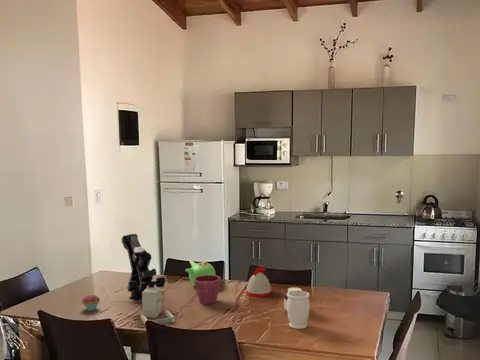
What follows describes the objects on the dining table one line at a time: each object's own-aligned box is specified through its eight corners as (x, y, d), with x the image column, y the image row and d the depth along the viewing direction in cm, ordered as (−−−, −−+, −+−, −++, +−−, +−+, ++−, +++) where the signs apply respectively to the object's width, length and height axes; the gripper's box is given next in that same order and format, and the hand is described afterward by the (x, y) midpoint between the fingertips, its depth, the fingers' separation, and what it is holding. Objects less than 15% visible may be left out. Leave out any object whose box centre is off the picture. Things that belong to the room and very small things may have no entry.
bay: (140, 319, 224) (140, 314, 224) (167, 314, 230) (167, 310, 230) (146, 326, 214) (146, 322, 214) (174, 321, 220) (174, 317, 220)
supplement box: (157, 317, 225) (156, 292, 224) (142, 317, 226) (141, 292, 225) (161, 312, 233) (160, 287, 231) (147, 311, 234) (146, 287, 232)
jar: (284, 321, 218) (284, 290, 217) (306, 321, 219) (306, 289, 218) (289, 330, 208) (289, 297, 207) (311, 329, 209) (311, 296, 208)
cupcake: (103, 307, 241) (102, 284, 240) (92, 312, 233) (92, 289, 232) (89, 305, 244) (88, 283, 243) (78, 311, 236) (78, 287, 235)
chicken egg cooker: (276, 293, 261) (276, 267, 260) (256, 298, 254) (256, 271, 253) (261, 287, 273) (261, 262, 272) (241, 292, 265) (241, 266, 264)
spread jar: (290, 316, 225) (290, 293, 225) (278, 309, 235) (278, 287, 235) (310, 312, 231) (310, 289, 230) (297, 305, 241) (297, 283, 240)
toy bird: (214, 290, 269) (214, 265, 268) (185, 290, 269) (185, 265, 269) (216, 281, 287) (216, 257, 286) (189, 281, 287) (188, 258, 286)
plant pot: (199, 296, 257) (198, 273, 257) (223, 298, 254) (223, 275, 254) (191, 305, 243) (190, 281, 243) (217, 306, 241) (216, 282, 240)
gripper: (128, 265, 233) (133, 293, 223) (164, 261, 241) (171, 287, 232) (124, 277, 240) (130, 304, 231) (160, 273, 248) (166, 299, 239)
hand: (150, 298), depth 233 cm, fingers closed
